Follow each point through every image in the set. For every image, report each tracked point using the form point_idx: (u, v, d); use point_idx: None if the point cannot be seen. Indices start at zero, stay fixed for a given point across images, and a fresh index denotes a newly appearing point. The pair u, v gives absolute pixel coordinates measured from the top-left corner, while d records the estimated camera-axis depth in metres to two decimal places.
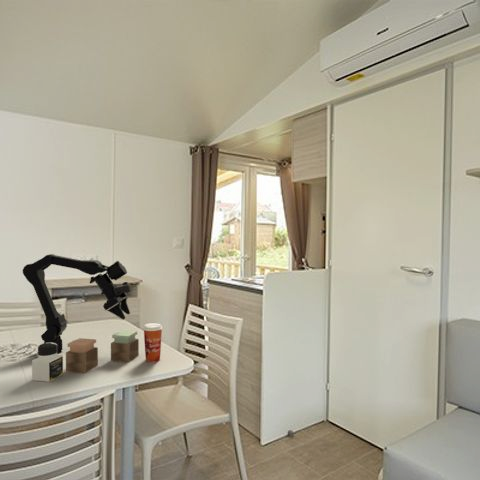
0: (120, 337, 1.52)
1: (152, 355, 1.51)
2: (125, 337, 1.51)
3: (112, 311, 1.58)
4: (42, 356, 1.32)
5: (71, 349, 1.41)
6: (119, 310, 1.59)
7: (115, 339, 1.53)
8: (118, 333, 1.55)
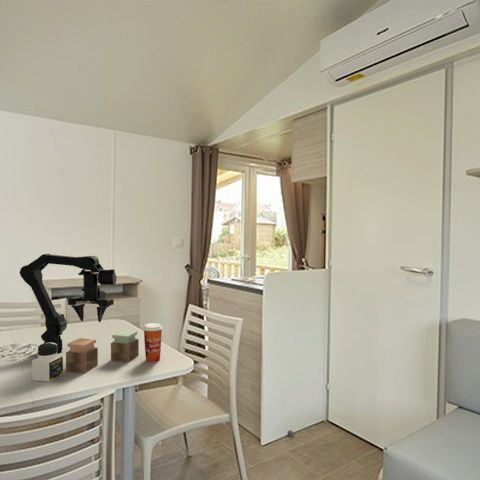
0: (120, 337, 1.52)
1: (152, 355, 1.51)
2: (125, 337, 1.51)
3: (101, 310, 1.60)
4: (42, 356, 1.32)
5: (71, 349, 1.41)
6: (103, 312, 1.63)
7: (115, 339, 1.53)
8: (118, 333, 1.55)
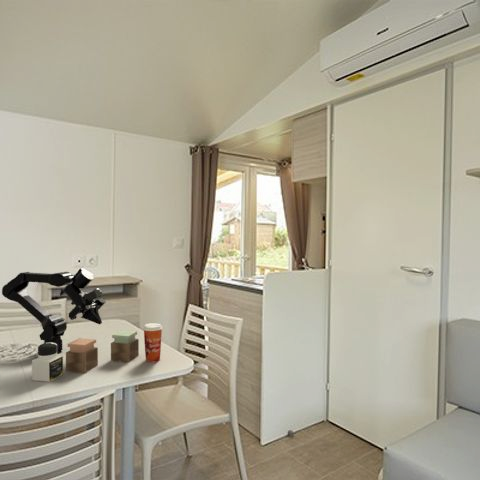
0: (120, 337, 1.52)
1: (152, 355, 1.51)
2: (125, 337, 1.51)
3: (86, 317, 1.57)
4: (42, 356, 1.32)
5: (71, 349, 1.41)
6: (93, 315, 1.57)
7: (115, 339, 1.53)
8: (118, 333, 1.55)
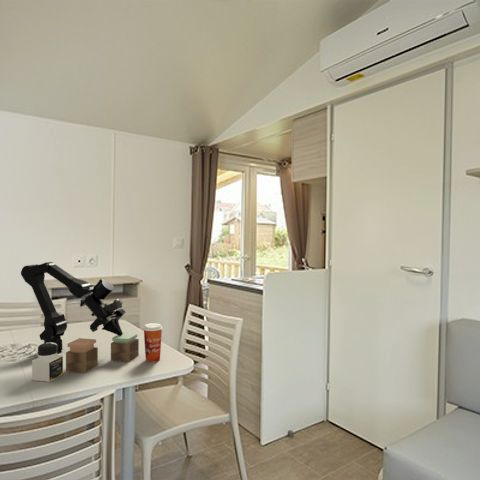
0: (120, 340, 1.52)
1: (152, 355, 1.51)
2: (125, 340, 1.51)
3: (107, 329, 1.55)
4: (42, 356, 1.32)
5: (71, 349, 1.41)
6: (114, 327, 1.55)
7: (115, 342, 1.53)
8: (118, 336, 1.55)
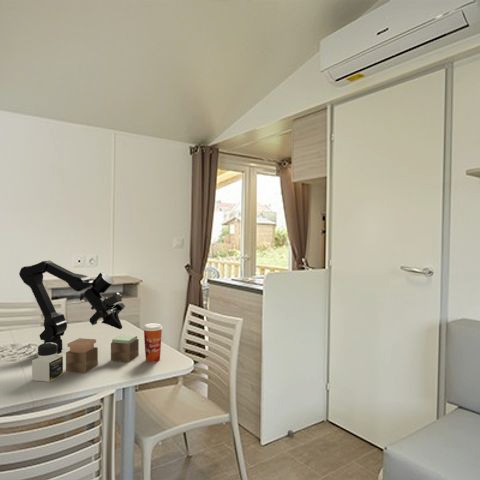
0: (120, 341, 1.52)
1: (152, 355, 1.51)
2: (125, 341, 1.51)
3: (107, 322, 1.55)
4: (42, 356, 1.32)
5: (71, 349, 1.41)
6: (113, 320, 1.55)
7: None
8: (118, 337, 1.55)
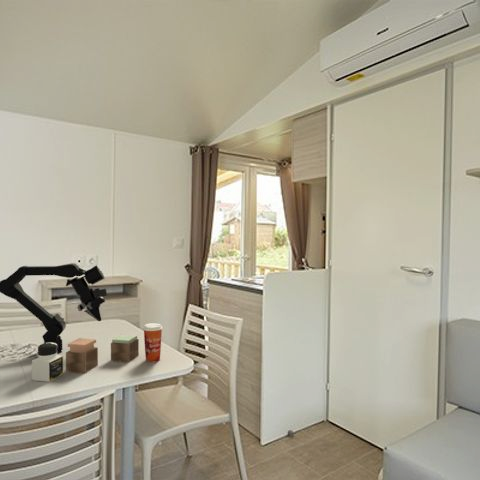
0: (120, 341, 1.52)
1: (152, 355, 1.51)
2: (125, 341, 1.51)
3: (92, 312, 1.64)
4: (42, 356, 1.32)
5: (71, 349, 1.41)
6: (98, 311, 1.66)
7: None
8: (118, 337, 1.55)
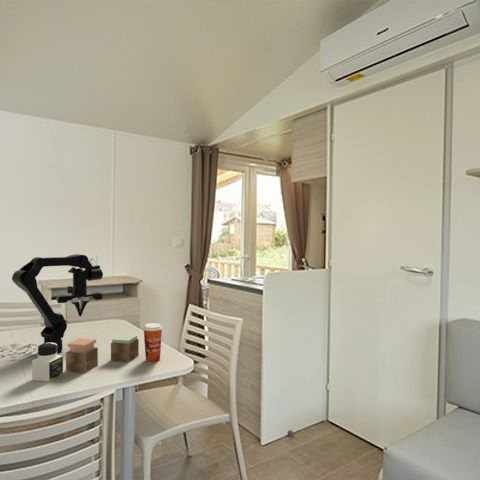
0: (120, 341, 1.52)
1: (152, 355, 1.51)
2: (125, 341, 1.51)
3: None
4: (42, 356, 1.32)
5: (71, 349, 1.41)
6: None
7: None
8: (118, 337, 1.55)
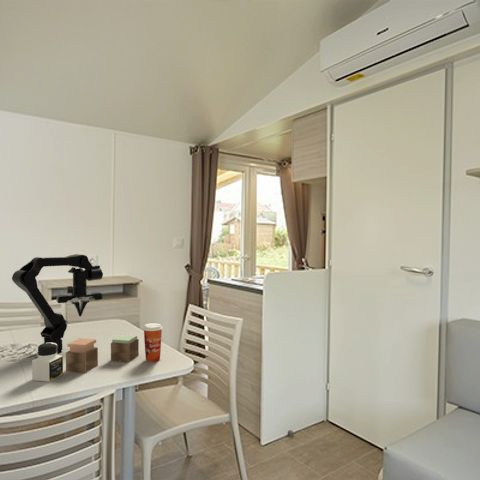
0: (120, 341, 1.52)
1: (152, 355, 1.51)
2: (125, 341, 1.51)
3: None
4: (42, 356, 1.32)
5: (71, 349, 1.41)
6: None
7: None
8: (118, 337, 1.55)
